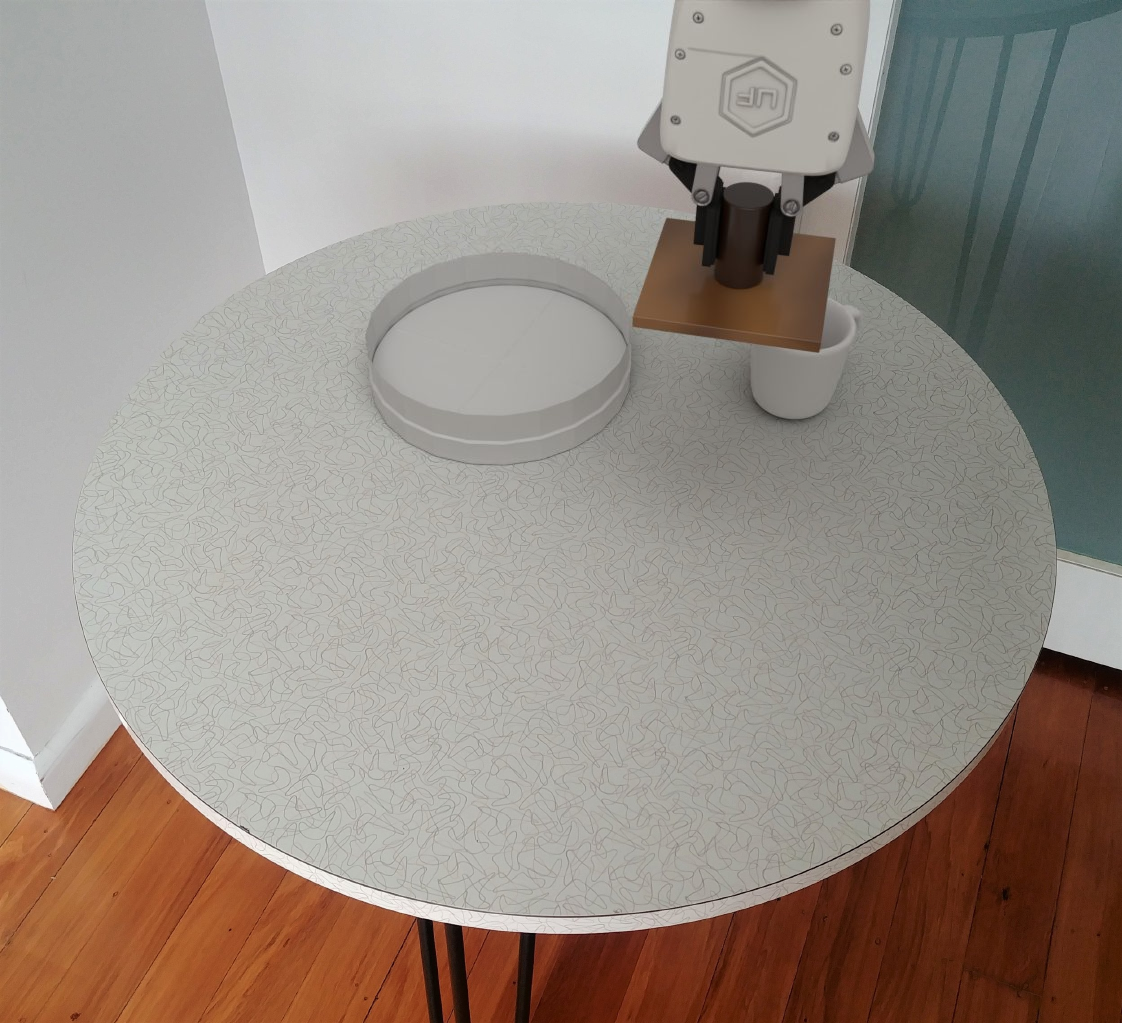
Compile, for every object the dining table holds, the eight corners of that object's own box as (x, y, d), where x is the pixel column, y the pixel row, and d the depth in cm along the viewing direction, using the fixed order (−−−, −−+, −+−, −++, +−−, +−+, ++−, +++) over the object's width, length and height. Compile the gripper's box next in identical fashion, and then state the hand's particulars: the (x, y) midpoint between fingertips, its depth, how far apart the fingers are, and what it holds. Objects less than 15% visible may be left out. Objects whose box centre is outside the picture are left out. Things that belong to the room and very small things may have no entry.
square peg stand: (833, 248, 68) (851, 158, 64) (819, 353, 61) (838, 260, 56) (665, 228, 70) (671, 138, 66) (632, 327, 63) (635, 235, 58)
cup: (813, 343, 93) (828, 266, 87) (882, 391, 88) (903, 312, 82) (721, 392, 88) (731, 314, 83) (789, 445, 84) (804, 366, 78)
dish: (319, 415, 87) (308, 368, 84) (453, 274, 101) (449, 228, 97) (561, 499, 80) (560, 451, 77) (671, 335, 94) (674, 288, 90)
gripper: (597, -54, 50) (595, 276, 63) (958, -28, 47) (875, 313, 60) (630, -107, 55) (621, 209, 68) (958, -86, 52) (881, 241, 65)
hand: (741, 255), depth 64 cm, fingers closed on square peg stand, 3 cm apart
